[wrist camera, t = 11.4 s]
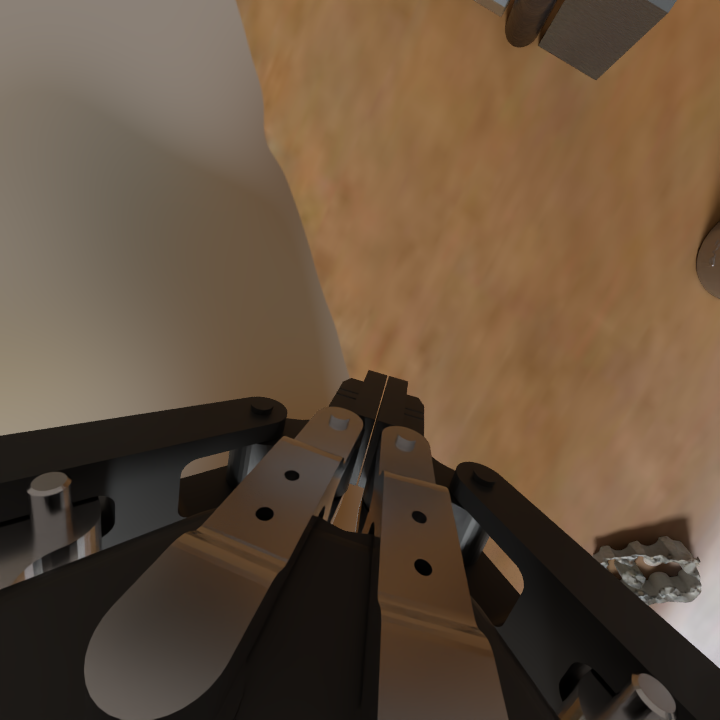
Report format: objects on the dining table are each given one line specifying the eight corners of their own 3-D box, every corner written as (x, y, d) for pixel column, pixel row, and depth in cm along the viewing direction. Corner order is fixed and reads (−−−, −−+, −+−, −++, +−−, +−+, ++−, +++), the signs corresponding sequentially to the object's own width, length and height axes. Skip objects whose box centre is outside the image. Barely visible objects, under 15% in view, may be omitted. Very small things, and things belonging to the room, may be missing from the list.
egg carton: (681, 530, 44) (706, 558, 40) (687, 577, 46) (712, 607, 42) (587, 542, 47) (602, 569, 43) (597, 586, 49) (612, 615, 45)
